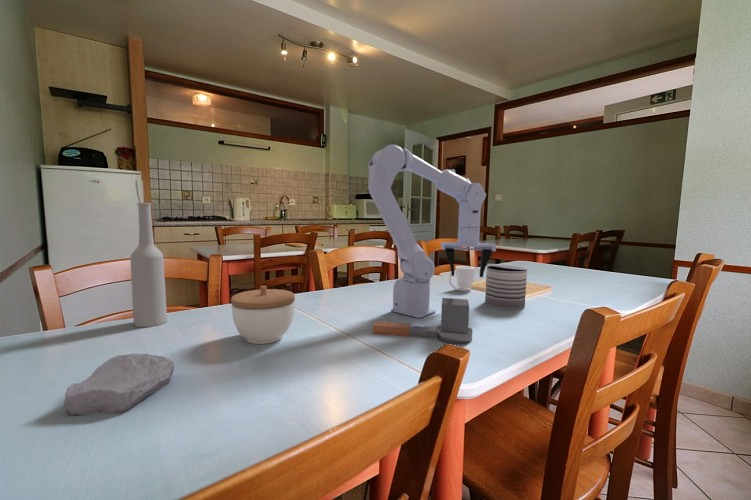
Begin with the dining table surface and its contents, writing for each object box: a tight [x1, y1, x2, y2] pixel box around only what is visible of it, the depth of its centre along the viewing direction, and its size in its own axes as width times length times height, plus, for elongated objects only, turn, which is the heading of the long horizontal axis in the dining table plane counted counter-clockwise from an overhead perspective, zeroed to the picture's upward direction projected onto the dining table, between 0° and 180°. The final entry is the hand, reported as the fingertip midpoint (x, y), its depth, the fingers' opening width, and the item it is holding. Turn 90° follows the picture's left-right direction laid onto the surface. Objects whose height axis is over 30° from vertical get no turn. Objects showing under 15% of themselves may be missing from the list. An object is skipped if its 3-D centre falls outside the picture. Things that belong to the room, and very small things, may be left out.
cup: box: [448, 265, 477, 292], centre depth 123 cm, size 7×10×8 cm
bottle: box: [129, 202, 168, 328], centre depth 81 cm, size 7×7×28 cm
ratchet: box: [372, 320, 473, 345], centre depth 76 cm, size 21×8×4 cm, turn 78°
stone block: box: [64, 352, 175, 416], centre depth 51 cm, size 12×5×10 cm
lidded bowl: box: [230, 285, 296, 345], centre depth 73 cm, size 13×13×11 cm
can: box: [484, 263, 528, 310], centre depth 104 cm, size 11×11×12 cm
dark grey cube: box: [440, 297, 470, 334], centre depth 75 cm, size 6×6×6 cm
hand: (466, 276), depth 97 cm, fingers open, 7 cm apart
